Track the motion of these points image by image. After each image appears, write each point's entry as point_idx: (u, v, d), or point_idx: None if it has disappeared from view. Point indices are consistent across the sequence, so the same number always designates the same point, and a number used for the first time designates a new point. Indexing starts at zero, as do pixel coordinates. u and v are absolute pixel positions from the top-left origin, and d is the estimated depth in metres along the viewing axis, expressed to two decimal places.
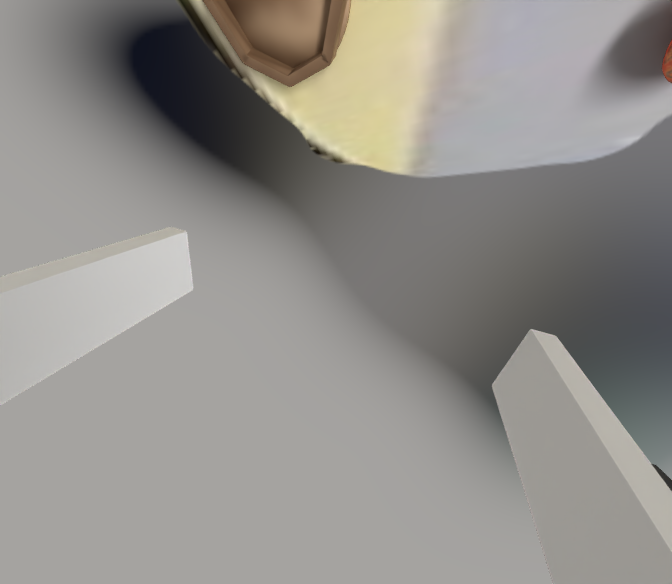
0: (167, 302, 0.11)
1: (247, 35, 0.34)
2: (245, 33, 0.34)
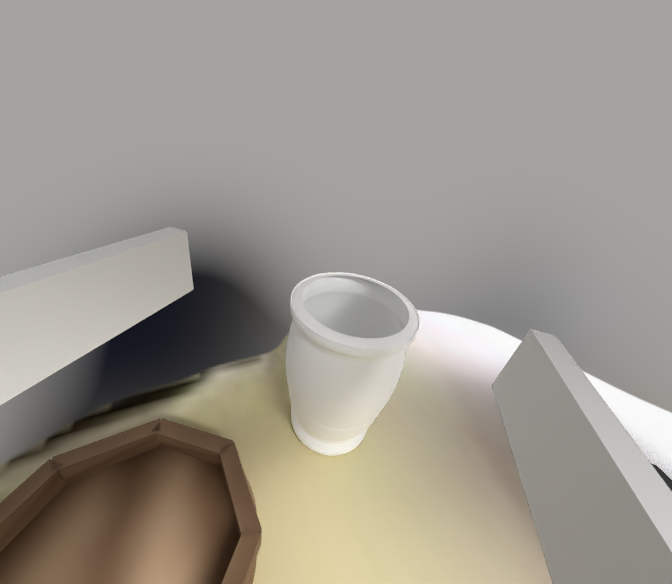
0: (167, 302, 0.11)
1: (89, 477, 0.20)
2: (93, 474, 0.20)
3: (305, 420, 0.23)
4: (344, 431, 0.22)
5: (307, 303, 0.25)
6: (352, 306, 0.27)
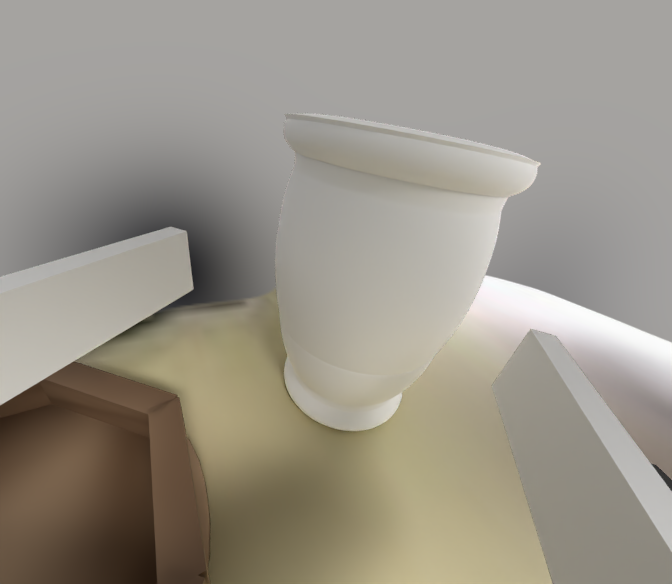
0: (167, 302, 0.11)
1: None
2: None
3: (307, 363, 0.13)
4: (378, 381, 0.12)
5: None
6: None
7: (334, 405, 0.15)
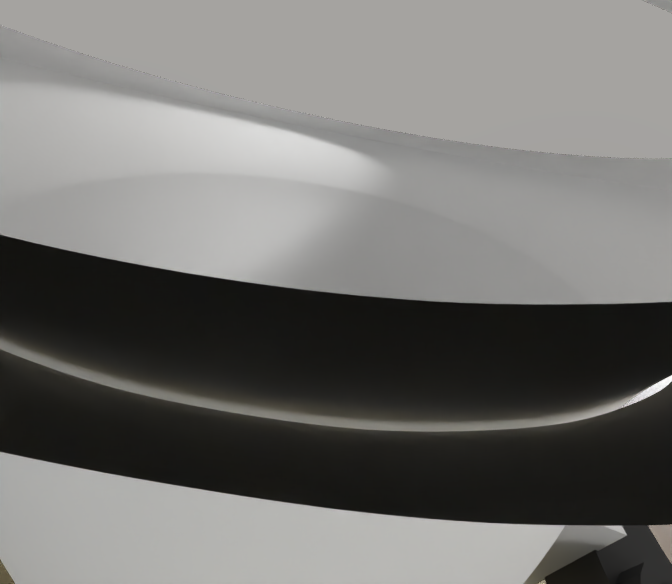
0: None
1: None
2: None
3: None
4: None
5: (199, 200, 0.08)
6: (340, 234, 0.11)
7: None
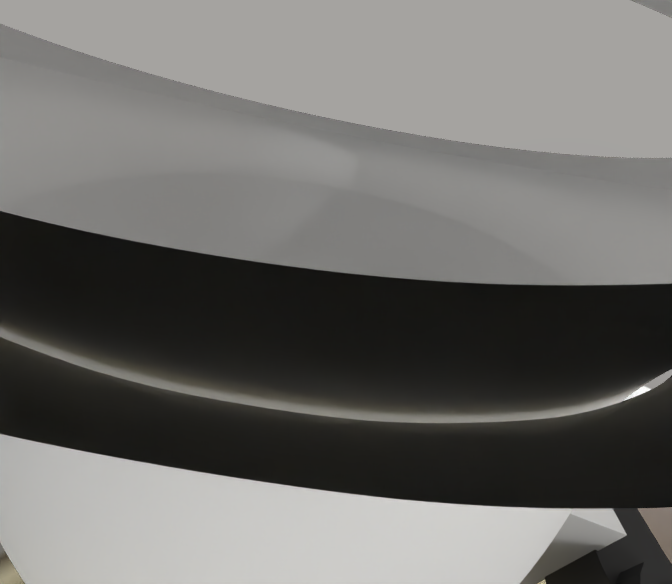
0: None
1: None
2: None
3: None
4: None
5: (200, 199, 0.08)
6: (341, 234, 0.11)
7: None
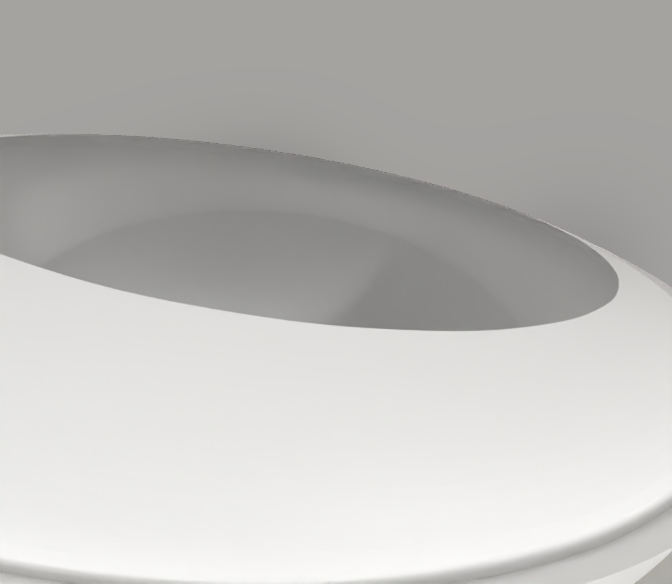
0: None
1: None
2: None
3: None
4: None
5: (194, 235, 0.09)
6: (330, 259, 0.11)
7: None
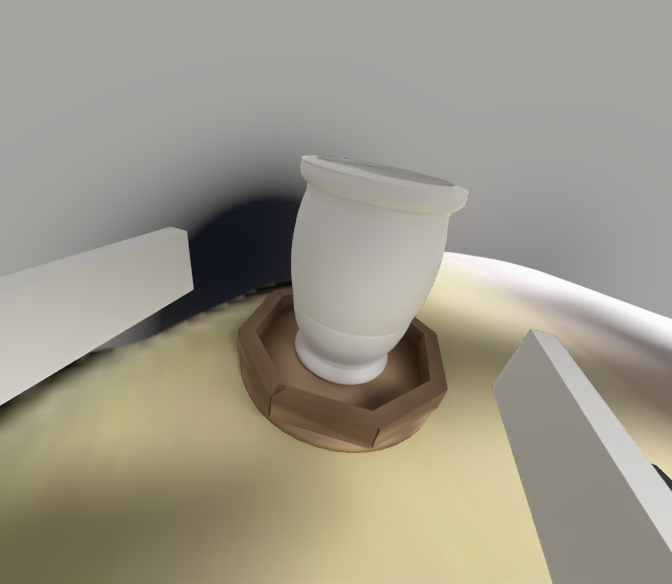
0: (167, 302, 0.11)
1: (293, 311, 0.27)
2: None
3: (316, 330, 0.18)
4: (366, 341, 0.17)
5: None
6: None
7: (334, 364, 0.20)
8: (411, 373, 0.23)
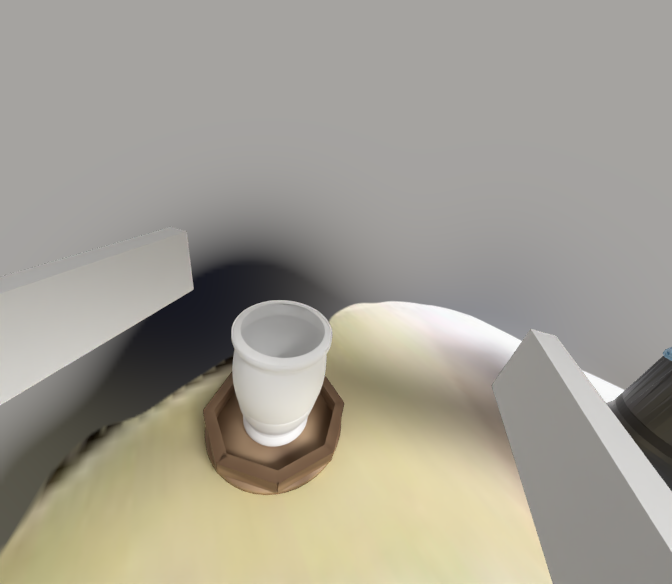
0: (167, 302, 0.11)
1: None
2: None
3: (247, 418, 0.29)
4: (276, 426, 0.28)
5: (253, 325, 0.31)
6: (294, 326, 0.34)
7: (263, 434, 0.31)
8: (321, 434, 0.34)
